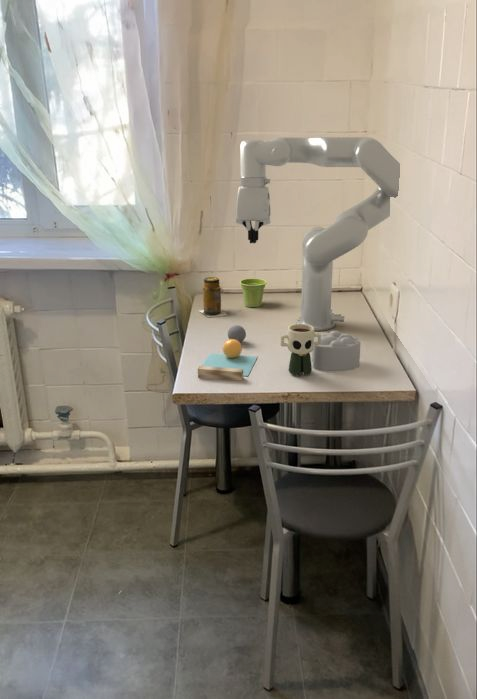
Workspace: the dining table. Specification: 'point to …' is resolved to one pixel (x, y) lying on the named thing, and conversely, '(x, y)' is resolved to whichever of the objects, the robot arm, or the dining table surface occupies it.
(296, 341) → the character mug
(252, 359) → the teal mark
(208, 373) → the wall
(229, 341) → the orange ball
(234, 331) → the gray ball
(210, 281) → the condiment
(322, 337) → the lumpy-topped squat cylinder
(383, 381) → the dining table surface
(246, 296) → the plant pot
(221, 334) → the dining table surface
